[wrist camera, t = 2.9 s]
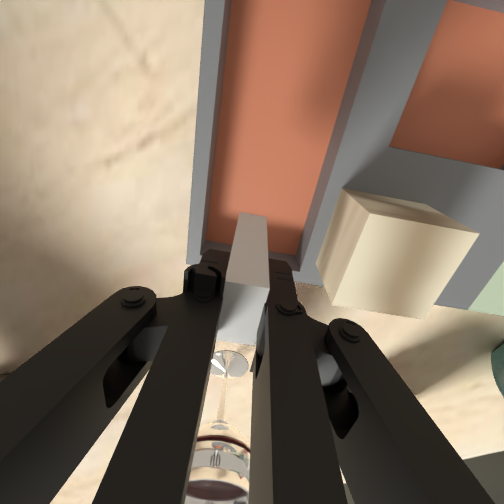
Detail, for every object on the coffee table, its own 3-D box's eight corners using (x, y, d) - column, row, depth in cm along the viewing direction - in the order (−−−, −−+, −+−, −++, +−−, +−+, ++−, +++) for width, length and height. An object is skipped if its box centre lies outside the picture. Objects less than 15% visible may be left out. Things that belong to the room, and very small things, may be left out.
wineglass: (189, 371, 31) (154, 504, 21) (213, 336, 28) (187, 469, 18) (238, 390, 33) (229, 522, 22) (266, 358, 30) (271, 493, 19)
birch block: (315, 263, 20) (331, 304, 16) (341, 188, 18) (369, 213, 13) (388, 275, 21) (423, 319, 16) (425, 203, 18) (480, 233, 14)
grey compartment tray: (194, 246, 23) (179, 278, 19) (222, -81, 14) (205, -171, 10) (502, 298, 25) (554, 338, 21) (709, 43, 16) (881, 16, 11)
